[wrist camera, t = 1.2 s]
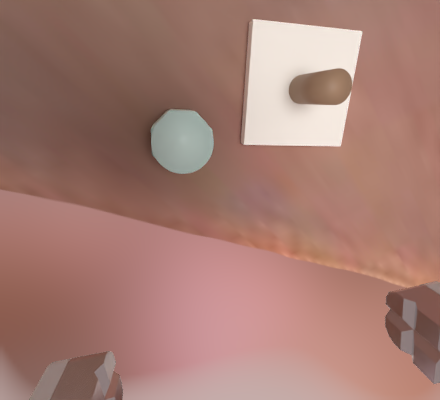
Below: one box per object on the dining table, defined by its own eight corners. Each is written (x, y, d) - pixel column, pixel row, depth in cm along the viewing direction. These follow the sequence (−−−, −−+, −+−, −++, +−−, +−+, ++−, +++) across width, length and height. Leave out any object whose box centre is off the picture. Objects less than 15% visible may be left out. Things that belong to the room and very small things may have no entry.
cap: (151, 108, 31) (149, 109, 27) (207, 110, 32) (214, 112, 28) (153, 163, 33) (152, 173, 29) (206, 164, 35) (212, 173, 30)
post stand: (248, 22, 30) (279, -5, 22) (353, 34, 33) (414, 13, 25) (240, 142, 35) (263, 155, 27) (334, 144, 37) (380, 156, 29)
